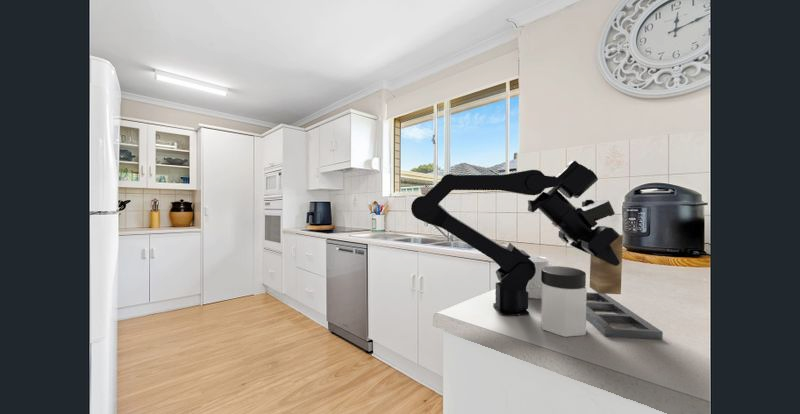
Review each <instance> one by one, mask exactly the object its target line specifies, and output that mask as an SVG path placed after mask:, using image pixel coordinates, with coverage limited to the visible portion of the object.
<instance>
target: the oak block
mask: <svg viewBox="0 0 800 414" xmlns="http://www.w3.org/2000/svg"><path fill="white" fill-rule="evenodd" d="M618 234H619V233H618ZM610 246H611V248H612V250H613V251H614V253H615V255H616V257H617V258H618V260H619V262H620V264H619V265H617V266H614V265H612V264H610V263H608V262H606V261H604V260H601V259H599V258H597V257H595V256H593V255H590V260H589V261H590V263H589V264H590V265H589V288H590V289H592V290H593V291H594V292H595V293H603V294H606V295H608V294H609V295H621V294H622V272H623V271H622V270H623V247H624V235H623V234H619V237H618V238H617V239H616V240H615V241H613V242H612V243H611V244H610Z"/></svg>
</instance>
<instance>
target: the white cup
mask: <svg viewBox="0 0 800 414" xmlns="http://www.w3.org/2000/svg"><path fill="white" fill-rule="evenodd" d="M529 256H530V258H529V259H530V260H531V261H532V262H533V263H534V264H535V268H536V273H535V275H534V277H533V278H532V279H531V280H529V281H528V284H527V286H526V291H527V292H528V299H541V269H542V268H544V267H549V258H546V257H543V256H539V255H529Z"/></svg>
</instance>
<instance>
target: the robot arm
mask: <svg viewBox="0 0 800 414" xmlns="http://www.w3.org/2000/svg"><path fill="white" fill-rule="evenodd" d="M598 180H599V178H598V176H597V174H596V173H595V172H594V171H593V170H592V169H591V168H587V166H585V165H582V164H580V163H579V162H577V160H573V161H570V162H569V163H567V165H566V166H565V168H564V169H562V170H561V171H560V172H559V173H558V174H557V175H556V176H555V175H552V176H551V175H545V174H544V173H543V172H542V171H541V170H538V169H530V170H522V171H516V172H512V173H506V174H451V173H448V174H445V175H443V177H441V179H440V180H439V181H438V182H437V183H436V184H435V185H434V186H433V187H432V188H431V189H430V190H429V191H427V193H426V194H425V195H420V196H418V197H416V198H415V199H413V201H412V203H411V206H410V210H411V215H412V216H413V217H414V218H416V219H417V220H419V221H422V222H424V223H426V224H429V225H431V226H435V227H437V228H441V229H443V230H445V231H447V232H448V233H449V234H451V235H452V236H454V237H456V238H457V239H459V240H460V241H462V242H464V243H466V244H467V245H469V246H470V247H472V248H474V249H475V250H477V251H478V252H480V253H481V254H484V256H486V257H488V258H490V259H492V260H493V262H494V263H496V264H497V265H498V266H499V268H497V270H496V271H495V275H496V277H497V280H498V281H499V282H495V302H494V303H492V304H493V305H492V306H493V307H494V309H495V310H496V311H498V313H499V314H500V315H502V316H521V315H523V316H525V315H530V312H529V310H528V309H529V298H528V292H527V291H526V286H527V284H528V281H529V280H531V279H532V278H533V277H534V275H535V273H536V268H535V264H534V263H533V262H532V261H531V260H530V259H529V258H530V256H531V255H530V254H529V253H527V252H526V250H525V251H524V250H523V249H519V248H517V247H516V246H515V245H513V244H512V243H511V242H508V245H507V246H504V245H502V244H499V243H497V242H496V241H494V240H493V239H491V238H489V237H487V236H486V235H484V234H482V233H481V232H480V231H478V230H477V229H475V228H473V227H471V226H470V225H469V224H466V223H464V222H463V221H461V220H460V219H458V218H457V217H455V216H453V215H452V214H450V213H449V212H448V211H447V210H446V209H445V208H444V207H443V206H442V205H441V204H440V203H441V202H442V201H443V200H444V199H445V198H446V197H447V196H448V195H449V194H450V193H451V192H453V191H502V192H508V193H512V194H518V195H523V196H536V198H535V199H534V200H530V199H528V200H527V204H528V206H527V211H528V212H530V213H535V212H536V211H537V210H539V211H540V212H541V213H542V214H543V215H544V216H546V218H547V219H548V220H550V222H552V223H551V225H553V226H554V227H555V228H558V229H559V231H558V238H559V239H561V241H562V242H563V243H566V244H568V243H570V241H571V243H570V244H569V245H570V246H571V247H573V248H575V249H577V250H579V251H582V252H584V253H586V254H588V255H590V256H591V255H593V256H595V257H597V258H599V259H601V260H604V261H606V262H608V263H610V264H612V265H614V266H617V265H619V264H620V262H619V260H618V258H617V257H616V255H615V253H614V251H613V250H612V248H611V246H610V244H611V243H612V242H613V241H615V240H616V239H617V238H618V237H619V232H617V231H616V230H615V229H614V228H613V227H610V226H605V225H599V224H598V222H597V221H599V220H602V219H604V218H607V217H612V216H614V215H616V213H615V210H614V208H613V206H612V204H611V202H610V200H606V199H600V200H593V199H591V198H590V199H588V198H587V199H585V200H582V202H581V207H578V206H577V207H575V206H574V205H573V204H572V203H571V202H570V201H569V200H568V199H572V198H574V199H579V198H580V197H581V196H582V195H583V194H584V193H585V192H586V191H588V189H590V188H591V187H592V186H593V185H594V184H596V182H598ZM550 188H551V189H550ZM546 189H550V190H548V191H547V192H545V190H546ZM567 198H568V199H567ZM597 225H598V226H597Z"/></svg>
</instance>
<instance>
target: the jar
mask: <svg viewBox="0 0 800 414" xmlns="http://www.w3.org/2000/svg"><path fill="white" fill-rule="evenodd" d="M586 276H587V273H586V272H585V271H583V270H582V269H579V268H576V267H575V268H574V267H569V266H568V267H567V266H560V265H558V266H557V265H556V266H555V265H554V266H553V265H551V266H550V265H548V267H544V268H542V269H541V298H540V325H541V329H542V330H543V331H546V332H549V333H552V334H555V335H558V336H560V337H563V338H566V337H567V338H569V337H579V336H586V333H587V330H586V328H587V319H586V301H587V299H586V295H587V291H588V290H587V287H586V286H587V284H586V283H587V277H586Z"/></svg>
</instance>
